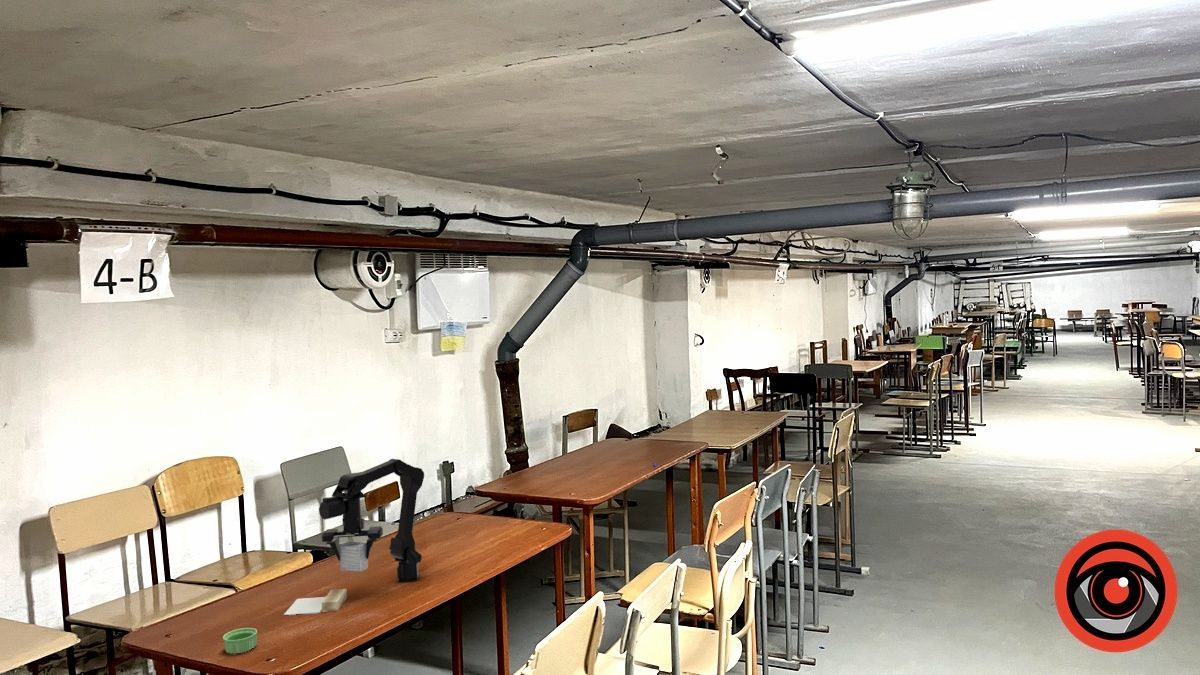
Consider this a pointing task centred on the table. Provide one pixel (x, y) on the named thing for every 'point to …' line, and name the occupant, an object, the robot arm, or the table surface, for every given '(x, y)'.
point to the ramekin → (240, 640)
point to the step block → (334, 600)
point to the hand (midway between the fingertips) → (353, 559)
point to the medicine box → (353, 556)
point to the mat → (306, 606)
